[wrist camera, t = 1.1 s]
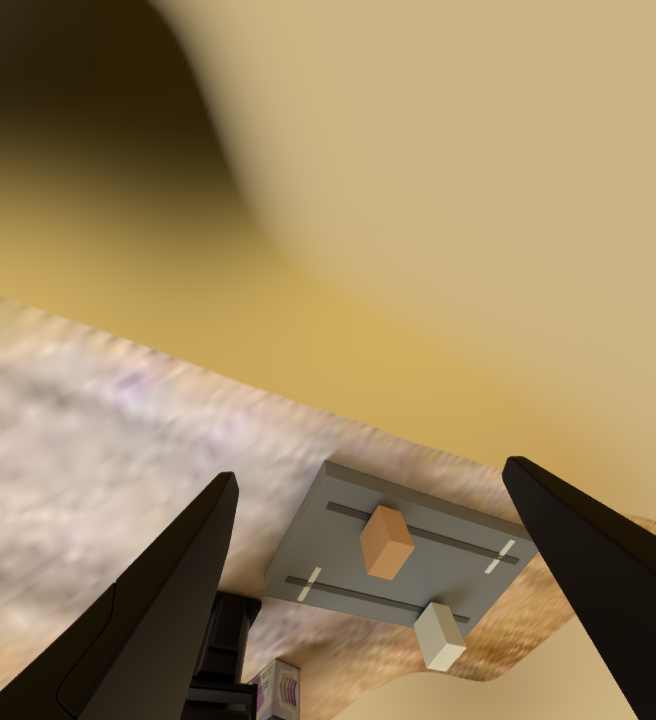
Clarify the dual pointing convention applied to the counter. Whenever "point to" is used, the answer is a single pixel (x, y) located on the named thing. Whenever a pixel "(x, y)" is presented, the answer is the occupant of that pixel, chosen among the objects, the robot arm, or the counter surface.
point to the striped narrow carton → (278, 692)
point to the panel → (418, 573)
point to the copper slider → (385, 543)
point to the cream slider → (439, 637)
